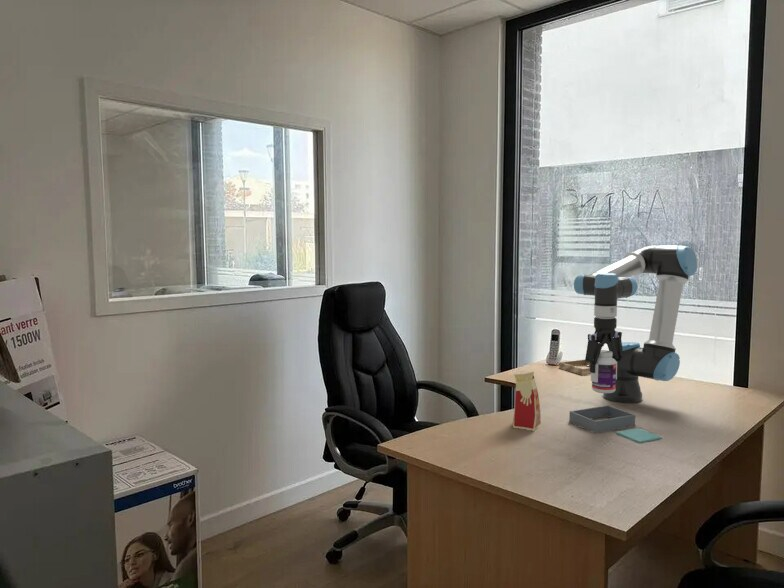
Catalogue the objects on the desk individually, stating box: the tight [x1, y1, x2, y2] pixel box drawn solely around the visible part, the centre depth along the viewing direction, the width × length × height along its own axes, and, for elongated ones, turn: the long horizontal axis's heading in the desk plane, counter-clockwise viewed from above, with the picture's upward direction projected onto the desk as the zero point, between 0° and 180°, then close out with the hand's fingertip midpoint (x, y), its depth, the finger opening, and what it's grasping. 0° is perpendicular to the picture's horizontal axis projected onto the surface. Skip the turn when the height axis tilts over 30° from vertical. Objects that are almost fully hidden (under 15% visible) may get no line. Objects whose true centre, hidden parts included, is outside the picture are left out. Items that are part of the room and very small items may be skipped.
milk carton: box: [512, 370, 542, 432], centre depth 209 cm, size 9×9×20 cm
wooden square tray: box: [558, 359, 591, 376], centre depth 293 cm, size 17×17×3 cm
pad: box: [616, 427, 663, 444], centre depth 198 cm, size 10×10×1 cm
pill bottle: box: [591, 349, 616, 394], centre depth 209 cm, size 8×8×14 cm
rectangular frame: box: [568, 404, 636, 434], centre depth 211 cm, size 13×18×4 cm
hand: (603, 380), depth 210 cm, fingers closed on pill bottle, 8 cm apart
